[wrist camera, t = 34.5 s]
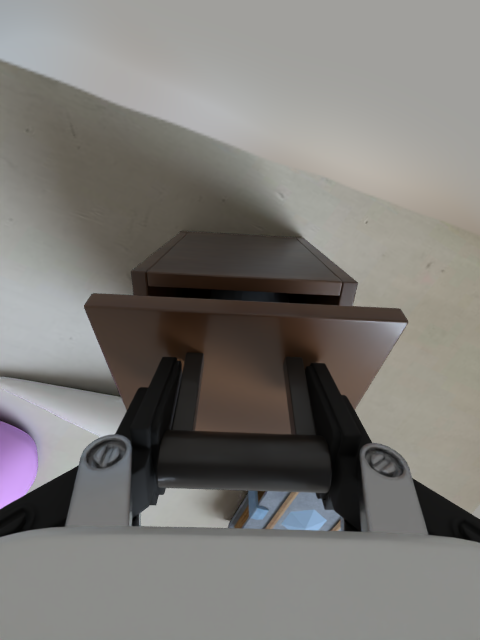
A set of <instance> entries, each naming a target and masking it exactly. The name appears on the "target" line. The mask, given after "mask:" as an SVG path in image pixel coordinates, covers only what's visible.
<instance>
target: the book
mask: <svg viewBox="0 0 480 640" xmlns="http://www.w3.org/2000/svg"><path fill="white" fill-rule="evenodd" d="M340 517H341V516H340V515H339V514H337V513H336V512H335V511H334V510H325V509H324V506H323V502H322V499H318V498H317V497H316V493H309V492H278V491H248V494H247V496H246V497H245V499H244V501H243V502H242V504H241V505H240V507H239V509H238V510H237V512H236V513H235V515H234V517H233V518H232V520H231V521H230V523H229V525H228V528H241V529H281V530H317V531H341V528H340Z"/></svg>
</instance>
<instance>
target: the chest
mask: <svg viewBox="0 0 480 640" xmlns="http://www.w3.org/2000/svg"><path fill="white" fill-rule="evenodd" d="M131 276H132V285H133V294H134V295H137V296H157V297H177V298H197V299H210V296H211V290H212V289H215V290H234V291H254V292H274V293H288V299H289V303H298V304H318V305H338V306H353V302H354V298H355V294H356V289H357V285H358V282H356V281H355V280H354V279H353V278H352V277H350V276H349V275H348V274H347V273H346V272H344V271H343V270H342V269H341V268H339V267H338V266H337V265H336V264H335V263H333V262H332V261H331V260H330V259H328V258H327V257H326V256H325V255H324V254H322V253H321V252H320V251H319V250H318V249H316V248H315V247H314V246H313V245H311V244H310V243H309V242H308V241H307V240H305V239H304V238H298V237H280V236H262V235H244V234H226V233H208V232H190V231H180V232H179V233H178V234H177V235H176V236H174V237H173V238H172V239H171V240H169V241H168V242H167V243H166V244H164V245H163V246H162V247H161V248H159V249H158V250H157V251H156V252H154V253H153V254H152V255H151V256H149V257H148V258H147V259H146V260H144V261H143V262H142V263H141V264H139V265H138V266H137V267H136V268H134V269H133V270H132V271H131Z"/></svg>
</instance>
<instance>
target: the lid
mask: <svg viewBox="0 0 480 640" xmlns="http://www.w3.org/2000/svg"><path fill="white" fill-rule="evenodd" d="M84 309H85V311H86V313H87V316H88V318H89V321H90V323H91V326H92V328H93V330H94V333H95V335H96V338H97V340H98V343H99V345H100V347H101V350H102V352H103V355H104V357H105V360H106V362H107V364H108V367H109V369H110V372H111V374H112V377H113V379H114V381H115V384H116V386H117V389H118V391H119V394H120V396H121V398H122V401H123V403H124V406H125V408H126V411H127V410H128V408H129V406H130V404H131V402H132V400H133V398H134V396H135V394H136V392H137V390H138V389H139V388H140V387H149V385H150V383H151V381H152V378H153V376H154V374H155V372H156V370H157V368H158V365H159V363H160V361H161V359H162V357H176V358H177V361H181V363H182V377H181V382H180V387H179V392H178V397H177V402H176V407H175V412H174V417H173V422H172V427H171V430H166V431H165V432H164V434H163V436H162V438H161V442H160V446H159V450H158V456H157V464H156V481H157V486H158V487H160V488H187V489H217V490H248V491H278V492H309V493H327V492H328V491H329V490H330V487H331V482H332V462H331V455H330V451H329V447H328V444H327V442H326V440H325V438H324V437H323V436H321V435H317V433H316V428H315V423H314V418H313V412H312V407H311V402H310V396H309V391H308V386H307V381H306V375H305V368H306V366H310V364H311V363H325V364H326V366H327V368H328V370H329V372H330V374H331V376H332V378H333V380H334V382H335V384H336V386H337V388H338V390H339V391H340V393H341V395H345V396H347V398H348V399H349V401H350V403H351V405H352V407H353V408H354V410H355V408H356V407H357V405H358V404H359V402H360V400H361V399H362V397H363V395H364V394H365V392H366V391H367V389H368V387H369V386H370V384H371V382H372V381H373V379H374V378H375V376H376V374H377V373H378V371H379V369H380V368H381V366H382V365H383V363H384V361H385V360H386V358H387V356H388V355H389V353H390V352H391V350H392V348H393V347H394V345H395V343H396V342H397V340H398V339H399V337H400V335H401V334H402V332H403V331H404V329H405V327H406V326H407V324H408V320H407V318H406V317H405V315H404V314H403V312H402V310H401V309H398V308H378V307H358V306H338V305H318V304H298V303H278V302H257V301H237V300H217V299H197V298H177V297H157V296H137V295H117V294H97V293H93V294H91V296H90V297H89V299H88V300H87V302H86V303H85V305H84Z"/></svg>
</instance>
